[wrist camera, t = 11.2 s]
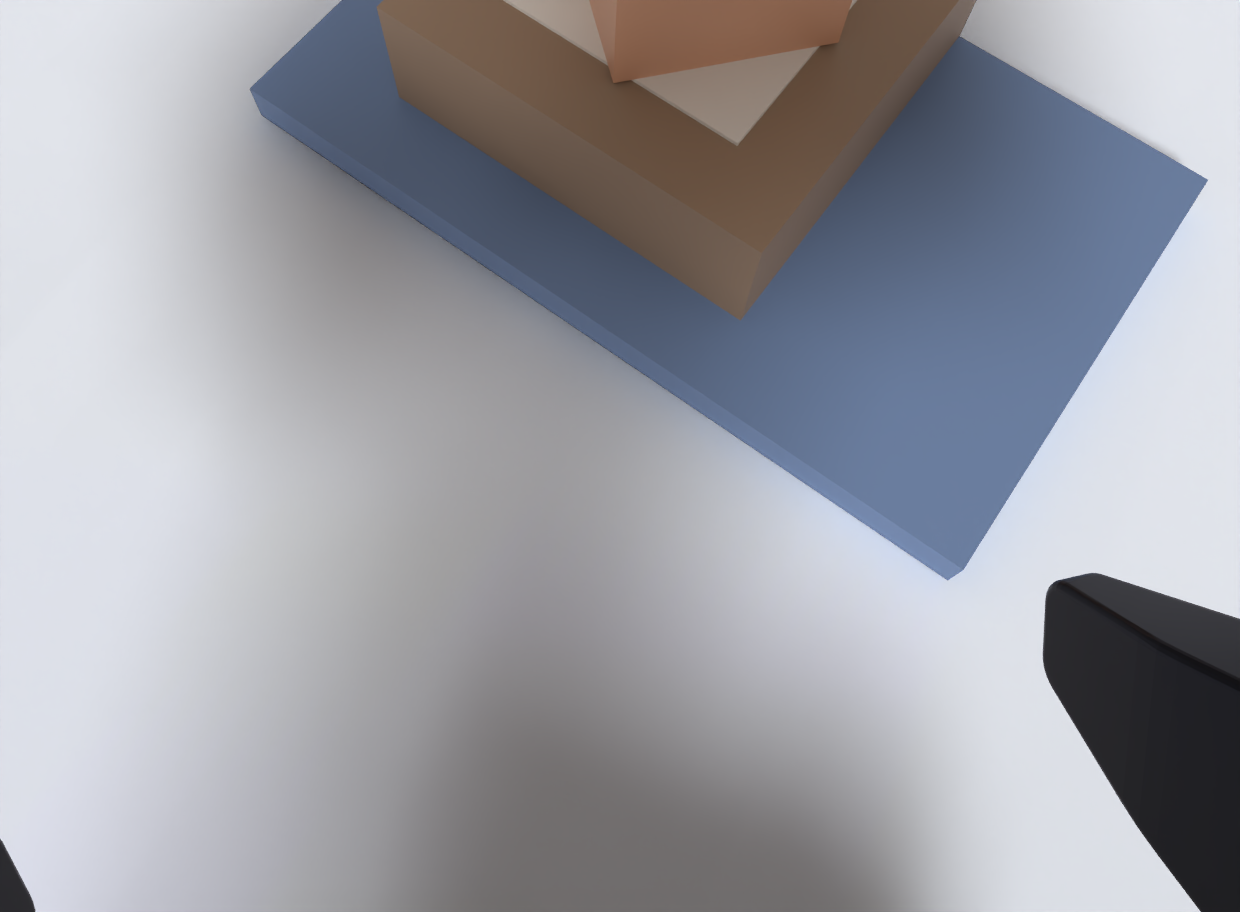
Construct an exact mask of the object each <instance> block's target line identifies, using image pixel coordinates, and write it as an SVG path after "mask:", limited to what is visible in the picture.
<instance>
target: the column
mask: <svg viewBox="0 0 1240 912" xmlns="http://www.w3.org/2000/svg"><path fill="white" fill-rule="evenodd" d="M589 2H590V5H591V9H592V12H593V16H594V19H595V22H596V26H597V29H598V33H599V36H600V40H601V43H602V46H603V50H604V53H605V57H606V60H607V64H608V67H609V70H610V74H611V77H612V81H613V83H617V82H623V81H628V80H634V79H640V78H645V77H651V76H656V75H662V74H667V73H673V72H678V71H684V70H689V69H695V68H700V67H706V66H711V65H717V64H723V63H728V62H734V61H739V60H745V59H750V58H756V57H761V56H767V55H772V54H778V53H783V52H789V51H794V50H800V49H806V48H811V47H817V46H822V45H828V44H833V43H838V42H839V39H840V36H841V33H842V30H843V27H844V24H845V21H846V18H847V15H848V12H849V9H850V6H851V3H852V0H589Z"/></svg>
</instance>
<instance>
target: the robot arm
mask: <svg viewBox="0 0 1240 912" xmlns="http://www.w3.org/2000/svg"><path fill="white" fill-rule="evenodd" d="M1043 663H1044V669H1045V672H1046V675H1047V678H1048V680H1049V683H1050V684H1051V686H1052V688H1053V690H1054V691H1055V693H1056V695H1057V696H1058V698H1059V700H1060V701H1061V703H1062V705H1063V706H1064V708H1065V710H1066V711H1067V713H1068V715H1069V716H1070V718H1071V720H1072V721H1073V723H1074V724H1075V726H1076V728H1077V729H1078V731H1079V733H1080V734H1081V736H1082V738H1083V739H1084V741H1085V743H1086V744H1087V746H1088V748H1089V749H1090V751H1091V753H1092V754H1093V756H1094V758H1095V759H1096V761H1097V762H1098V764H1099V766H1100V767H1101V769H1102V771H1103V772H1104V774H1105V776H1106V777H1107V779H1108V781H1109V782H1110V784H1111V786H1112V787H1113V789H1114V791H1115V792H1116V794H1117V796H1118V797H1119V799H1120V801H1121V802H1122V804H1123V805H1124V807H1125V808H1126V810H1127V812H1128V813H1129V815H1130V816H1131V818H1132V819H1133V821H1134V822H1135V824H1136V825H1137V827H1138V828H1139V830H1140V831H1141V833H1142V834H1143V835H1144V837H1145V838H1146V839H1147V841H1148V842H1149V844H1150V845H1151V846H1152V848H1153V849H1154V850H1155V852H1156V853H1157V854H1158V856H1159V857H1160V858H1161V860H1162V861H1163V862H1164V864H1165V865H1166V866H1167V868H1168V869H1169V870H1170V872H1171V873H1172V874H1173V876H1174V877H1175V878H1176V880H1177V881H1178V882H1179V884H1180V885H1181V886H1182V888H1183V889H1184V890H1185V891H1186V893H1187V894H1188V895H1189V897H1190V898H1191V899H1192V901H1193V902H1194V903H1195V905H1196V906H1197V907H1198V909H1199V910H1200V911H1201V912H1240V619H1238V618H1235V617H1232V616H1229V615H1226V614H1223V613H1220V612H1217V611H1214V610H1210V609H1207V608H1204V607H1201V606H1198V605H1195V604H1192V603H1189V602H1186V601H1183V600H1179V599H1176V598H1173V597H1170V596H1167V595H1164V594H1161V593H1158V592H1155V591H1152V590H1148V589H1145V588H1142V587H1139V586H1136V585H1133V584H1130V583H1127V582H1124V581H1121V580H1118V579H1114V578H1111V577H1108V576H1105V575H1102V574H1098V573H1089V574H1084V575H1080V576H1075V577H1071V578H1067V579H1062V580H1058V581H1056V582H1054V583H1053V584H1052V585H1051V586H1050V587H1049V589H1048V591H1047V594H1046V600H1045V620H1044V641H1043ZM0 912H35V908H34V904H33V901H32V898H31V896H30V894H29V892H28V890H27V888H26V886H25V884H24V882H23V880H22V878H21V877H20V875H19V873H18V871H17V869H16V867H15V865H14V863H13V861H12V859H11V857H10V855H9V854H8V852H7V850H6V848H5V846H4V844H3V842H2V841H1V839H0Z"/></svg>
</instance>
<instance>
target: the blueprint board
mask: <svg viewBox="0 0 1240 912" xmlns="http://www.w3.org/2000/svg"><path fill="white" fill-rule="evenodd" d="M975 2H976V0H852V3H851V6H850V9H849V12H848V15H847V18H846V21H845V24H844V27H843V30H842V33H841V36H840V39H839V42H838V43H833V44H828V45H822V46H817V47H811V48H806V49H800V50H794V51H789V52H783V53H778V54H772V55H767V56H761V57H756V58H750V59H745V60H739V61H734V62H728V63H723V64H717V65H711V66H706V67H700V68H695V69H689V70H684V71H678V72H673V73H667V74H662V75H656V76H651V77H645V78H640V79H634V80H628V81H623V82H617V83H613V81H612V77H611V74H610V70H609V67H608V64H607V60H606V57H605V53H604V50H603V46H602V43H601V40H600V36H599V33H598V29H597V26H596V22H595V19H594V16H593V12H592V9H591V5H590V2H589V0H342V1H341V2H340V3H339V4H338V5H337V6H336V7H334V8H333V9H332V10H331V11H330V12H329V13H328V14H327V15H326V16H325V17H324V18H323V19H322V20H321V21H320V22H319V23H318V24H317V25H316V26H315V27H314V28H313V29H312V30H311V31H309V32H308V33H307V34H306V35H305V36H304V37H303V38H302V39H301V40H300V41H299V42H298V43H297V44H296V45H295V46H294V47H293V48H292V49H291V50H290V51H289V52H288V53H287V54H285V55H284V56H283V57H282V58H281V59H280V60H279V61H278V62H277V63H276V64H275V65H274V66H273V67H272V68H271V69H270V70H269V71H268V72H267V73H266V74H265V75H264V76H263V77H262V78H260V79H259V80H258V81H257V82H256V83H255V84H254V85H253V86H252V87H251V88H250V91H251V93H252V95H253V97H254V99H255V102H256V104H257V106H258V108H259V110H260V113H261V115H262V116H264V117H265V118H267V119H268V120H270V121H271V122H273V123H274V124H276V125H277V126H279V127H280V128H281V129H283V130H284V131H286V132H287V133H289V134H290V135H292V136H293V137H295V138H296V139H298V140H299V141H301V142H302V143H304V144H305V145H307V146H308V147H310V148H311V149H312V150H314V151H315V152H317V153H318V154H320V155H321V156H323V157H324V158H326V159H327V160H329V161H330V162H332V163H333V164H335V165H336V166H338V167H339V168H341V169H342V170H343V171H345V172H346V173H348V174H349V175H351V176H352V177H354V178H355V179H357V180H358V181H360V182H361V183H363V184H364V185H366V186H367V187H369V188H370V189H371V190H373V191H374V192H376V193H377V194H379V195H380V196H382V197H383V198H385V199H386V200H388V201H389V202H391V203H392V204H394V205H395V206H397V207H398V208H400V209H401V210H402V211H404V212H405V213H407V214H408V215H410V216H411V217H413V218H414V219H416V220H417V221H419V222H420V223H422V224H423V225H425V226H426V227H428V228H429V229H430V230H432V231H433V232H435V233H436V234H438V235H439V236H441V237H442V238H444V239H445V240H447V241H448V242H450V243H451V244H453V245H454V246H456V247H457V248H459V249H460V250H461V251H463V252H464V253H466V254H467V255H469V256H470V257H472V258H473V259H475V260H476V261H478V262H479V263H481V264H482V265H484V266H485V267H487V268H488V269H489V270H491V271H492V272H494V273H495V274H497V275H498V276H500V277H501V278H503V279H504V280H506V281H507V282H509V283H510V284H512V285H513V286H515V287H516V288H518V289H519V290H520V291H522V292H523V293H525V294H526V295H528V296H529V297H531V298H532V299H534V300H535V301H537V302H538V303H540V304H541V305H543V306H544V307H546V308H547V309H549V310H550V311H551V312H553V313H554V314H556V315H557V316H559V317H560V318H562V319H563V320H565V321H566V322H568V323H569V324H571V325H572V326H574V327H575V328H577V329H578V330H579V331H581V332H582V333H584V334H585V335H587V336H588V337H590V338H591V339H593V340H594V341H596V342H597V343H599V344H600V345H602V346H603V347H605V348H606V349H608V350H609V351H610V352H612V353H613V354H615V355H616V356H618V357H619V358H621V359H622V360H624V361H625V362H627V363H628V364H630V365H631V366H633V367H634V368H636V369H637V370H638V371H640V372H641V373H643V374H644V375H646V376H647V377H649V378H650V379H652V380H653V381H655V382H656V383H658V384H659V385H661V386H662V387H664V388H665V389H667V390H668V391H669V392H671V393H672V394H674V395H675V396H677V397H678V398H680V399H681V400H683V401H684V402H686V403H687V404H689V405H690V406H692V407H693V408H695V409H696V410H697V411H699V412H700V413H702V414H703V415H705V416H706V417H708V418H709V419H711V420H712V421H714V422H715V423H717V424H718V425H720V426H721V427H723V428H724V429H726V430H727V431H728V432H730V433H731V434H733V435H734V436H736V437H737V438H739V439H740V440H742V441H743V442H745V443H746V444H748V445H749V446H751V447H752V448H754V449H755V450H756V451H758V452H759V453H761V454H762V455H764V456H765V457H767V458H768V459H770V460H771V461H773V462H774V463H776V464H777V465H779V466H780V467H782V468H783V469H785V470H786V471H787V472H789V473H790V474H792V475H793V476H795V477H796V478H798V479H799V480H801V481H802V482H804V483H805V484H807V485H808V486H810V487H811V488H813V489H814V490H816V491H817V492H818V493H820V494H821V495H823V496H824V497H826V498H827V499H829V500H830V501H832V502H833V503H835V504H836V505H838V506H839V507H841V508H842V509H844V510H845V511H846V512H848V513H849V514H851V515H852V516H854V517H855V518H857V519H858V520H860V521H861V522H863V523H864V524H866V525H867V526H869V527H870V528H872V529H873V530H875V531H876V532H877V533H879V534H880V535H882V536H883V537H885V538H886V539H888V540H889V541H891V542H892V543H894V544H895V545H897V546H898V547H900V548H901V549H903V550H904V551H905V552H907V553H908V554H910V555H911V556H913V557H914V558H916V559H917V560H919V561H920V562H922V563H923V564H925V565H926V566H928V567H929V568H931V569H932V570H934V571H935V572H936V573H938V574H939V575H941V576H942V577H944V578H945V579H947V580H949V579H950V578H952V577H953V576H955V575H956V574H958V573H959V572H961V571H962V570H964V568H965V566H966V565H967V563H968V562H969V560H970V558H971V557H972V555H973V554H974V552H975V550H976V549H977V547H978V546H979V544H980V542H981V541H982V539H983V538H984V536H985V534H986V533H987V531H988V530H989V528H990V527H991V525H992V523H993V522H994V520H995V519H996V517H997V515H998V514H999V512H1000V511H1001V509H1002V507H1003V506H1004V504H1005V503H1006V501H1007V499H1008V498H1009V496H1010V495H1011V493H1012V491H1013V490H1014V488H1015V487H1016V485H1017V483H1018V482H1019V480H1020V479H1021V477H1022V476H1023V474H1024V472H1025V471H1026V469H1027V468H1028V466H1029V464H1030V463H1031V461H1032V460H1033V458H1034V456H1035V455H1036V453H1037V452H1038V450H1039V448H1040V447H1041V445H1042V444H1043V442H1044V440H1045V439H1046V437H1047V436H1048V434H1049V433H1050V431H1051V429H1052V428H1053V426H1054V425H1055V423H1056V421H1057V420H1058V418H1059V417H1060V415H1061V413H1062V412H1063V410H1064V409H1065V407H1066V405H1067V404H1068V402H1069V401H1070V399H1071V397H1072V396H1073V394H1074V393H1075V391H1076V390H1077V388H1078V386H1079V385H1080V383H1081V382H1082V380H1083V378H1084V377H1085V375H1086V374H1087V372H1088V370H1089V369H1090V367H1091V366H1092V364H1093V362H1094V361H1095V359H1096V358H1097V356H1098V354H1099V353H1100V351H1101V350H1102V348H1103V346H1104V345H1105V343H1106V342H1107V340H1108V339H1109V337H1110V335H1111V334H1112V332H1113V331H1114V329H1115V327H1116V326H1117V324H1118V323H1119V321H1120V319H1121V318H1122V316H1123V315H1124V313H1125V311H1126V310H1127V308H1128V307H1129V305H1130V303H1131V302H1132V300H1133V299H1134V297H1135V296H1136V294H1137V292H1138V291H1139V289H1140V288H1141V286H1142V284H1143V283H1144V281H1145V280H1146V278H1147V276H1148V275H1149V273H1150V272H1151V270H1152V268H1153V267H1154V265H1155V264H1156V262H1157V260H1158V259H1159V257H1160V256H1161V254H1162V252H1163V251H1164V249H1165V248H1166V246H1167V245H1168V243H1169V241H1170V240H1171V238H1172V237H1173V235H1174V233H1175V232H1176V230H1177V229H1178V227H1179V225H1180V224H1181V222H1182V221H1183V219H1184V217H1185V216H1186V214H1187V213H1188V211H1189V209H1190V208H1191V206H1192V205H1193V203H1194V202H1195V200H1196V198H1197V197H1198V195H1199V194H1200V192H1201V190H1202V189H1203V187H1204V186H1205V184H1206V182H1207V181H1208V180H1207V179H1206V178H1204V177H1202V176H1201V175H1199V174H1197V173H1195V172H1194V171H1192V170H1190V169H1188V168H1187V167H1185V166H1183V165H1181V164H1180V163H1178V162H1176V161H1175V160H1173V159H1171V158H1169V157H1168V156H1166V155H1164V154H1162V153H1161V152H1159V151H1157V150H1155V149H1154V148H1152V147H1150V146H1149V145H1147V144H1145V143H1143V142H1142V141H1140V140H1138V139H1136V138H1135V137H1133V136H1131V135H1129V134H1128V133H1126V132H1124V131H1123V130H1121V129H1119V128H1117V127H1116V126H1114V125H1112V124H1110V123H1109V122H1107V121H1105V120H1103V119H1102V118H1100V117H1098V116H1096V115H1095V114H1093V113H1091V112H1090V111H1088V110H1086V109H1084V108H1083V107H1081V106H1079V105H1077V104H1076V103H1074V102H1072V101H1070V100H1069V99H1067V98H1065V97H1064V96H1062V95H1060V94H1058V93H1057V92H1055V91H1053V90H1051V89H1050V88H1048V87H1046V86H1044V85H1043V84H1041V83H1039V82H1038V81H1036V80H1034V79H1032V78H1031V77H1029V76H1027V75H1025V74H1024V73H1022V72H1020V71H1018V70H1017V69H1015V68H1013V67H1012V66H1010V65H1008V64H1006V63H1005V62H1003V61H1001V60H999V59H998V58H996V57H994V56H992V55H991V54H989V53H987V52H986V51H984V50H982V49H980V48H979V47H977V46H975V45H973V44H972V43H970V42H968V41H966V40H965V39H963V38H961V37H960V34H961V32H962V29H963V27H964V25H965V23H966V21H967V19H968V17H969V15H970V13H971V11H972V9H973V6H974V4H975Z"/></svg>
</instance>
